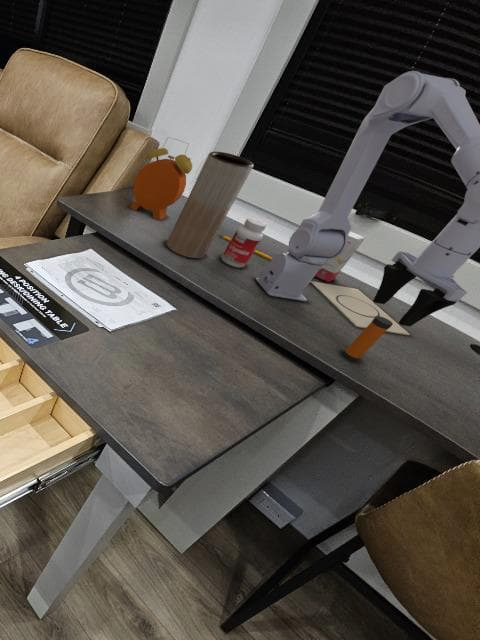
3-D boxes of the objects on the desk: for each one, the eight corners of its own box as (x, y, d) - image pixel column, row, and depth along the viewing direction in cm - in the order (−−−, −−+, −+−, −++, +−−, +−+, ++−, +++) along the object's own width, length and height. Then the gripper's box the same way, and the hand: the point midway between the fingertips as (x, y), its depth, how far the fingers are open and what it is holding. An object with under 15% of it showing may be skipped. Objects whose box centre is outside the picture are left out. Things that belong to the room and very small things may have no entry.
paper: (355, 326, 101) (357, 325, 101) (310, 282, 116) (311, 280, 116) (409, 335, 102) (410, 334, 102) (357, 290, 117) (358, 288, 117)
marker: (347, 360, 90) (382, 323, 84) (339, 351, 92) (372, 314, 86) (361, 362, 90) (396, 326, 84) (352, 353, 92) (386, 317, 86)
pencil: (283, 267, 121) (285, 264, 121) (221, 237, 130) (223, 235, 130) (285, 266, 121) (286, 264, 121) (223, 237, 131) (224, 235, 130)
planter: (208, 252, 120) (258, 162, 105) (197, 262, 114) (248, 168, 99) (173, 237, 124) (216, 148, 109) (160, 247, 118) (204, 154, 103)
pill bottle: (217, 260, 117) (241, 219, 110) (224, 254, 121) (247, 214, 113) (241, 270, 115) (267, 229, 107) (247, 264, 118) (272, 223, 111)
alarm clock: (172, 218, 136) (205, 146, 122) (164, 222, 132) (197, 149, 119) (132, 202, 141) (160, 131, 128) (124, 205, 137) (152, 133, 124)
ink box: (334, 279, 120) (367, 237, 112) (326, 283, 117) (359, 240, 109) (303, 264, 124) (332, 222, 116) (294, 267, 122) (324, 224, 114)
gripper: (509, 271, 72) (437, 338, 81) (442, 233, 83) (385, 296, 92) (469, 264, 72) (401, 333, 81) (407, 227, 83) (353, 291, 92)
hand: (390, 313), depth 86 cm, fingers open, 7 cm apart
